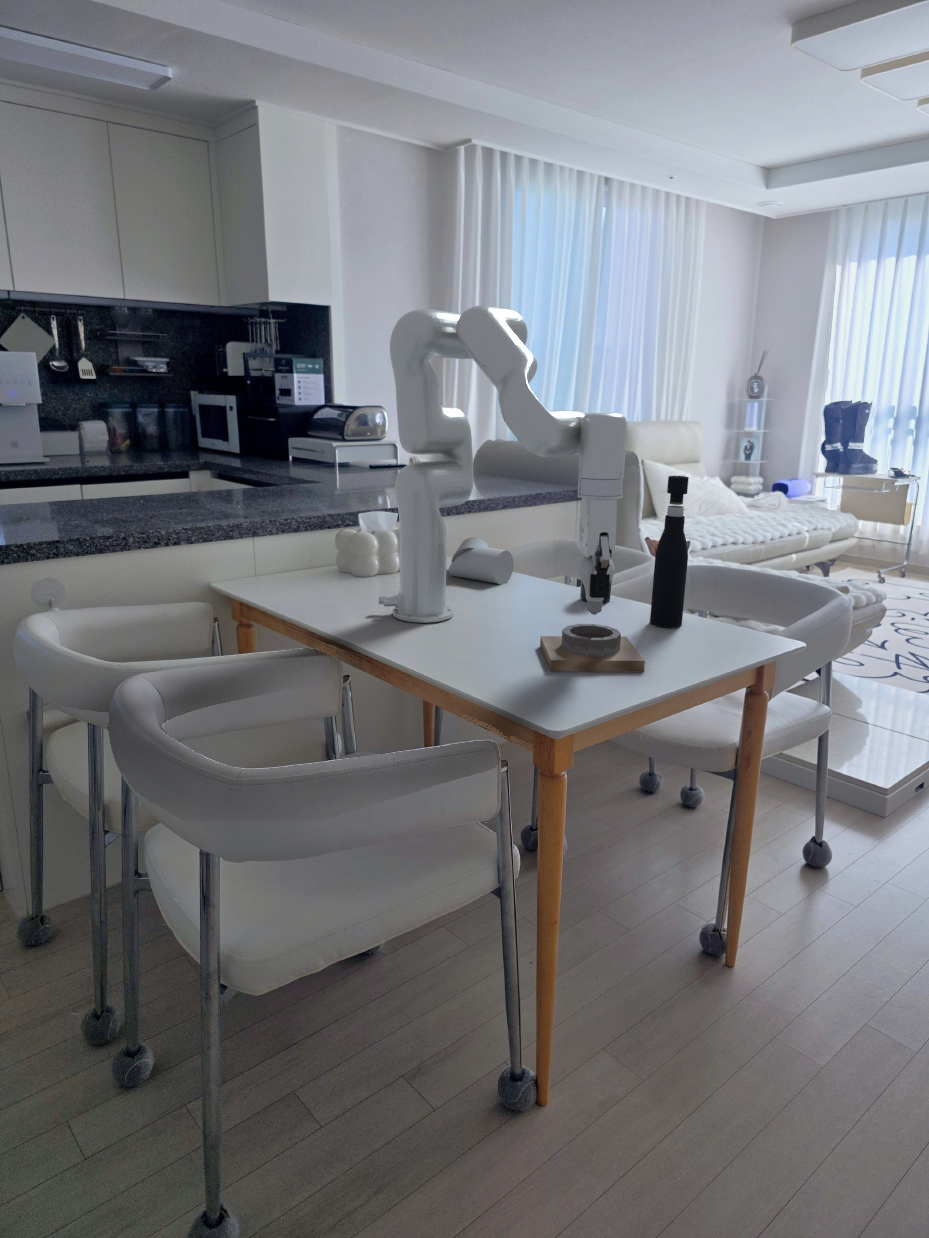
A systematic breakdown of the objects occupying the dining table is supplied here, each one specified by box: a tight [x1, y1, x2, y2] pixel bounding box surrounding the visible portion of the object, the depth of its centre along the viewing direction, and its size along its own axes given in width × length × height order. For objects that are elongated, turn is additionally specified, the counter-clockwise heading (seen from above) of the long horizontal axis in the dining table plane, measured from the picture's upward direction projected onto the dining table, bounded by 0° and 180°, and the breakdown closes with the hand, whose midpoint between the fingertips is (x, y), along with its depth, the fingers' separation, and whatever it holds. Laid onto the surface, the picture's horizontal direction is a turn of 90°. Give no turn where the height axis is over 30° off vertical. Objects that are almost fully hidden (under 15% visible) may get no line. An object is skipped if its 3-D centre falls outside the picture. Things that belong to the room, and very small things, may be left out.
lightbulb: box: [578, 554, 615, 616], centre depth 143 cm, size 6×6×11 cm
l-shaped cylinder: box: [448, 536, 515, 585], centre depth 209 cm, size 18×10×20 cm
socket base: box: [539, 623, 646, 673], centre depth 146 cm, size 16×14×5 cm
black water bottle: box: [649, 475, 690, 629], centre depth 165 cm, size 6×6×30 cm
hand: (595, 591), depth 143 cm, fingers closed on lightbulb, 6 cm apart
